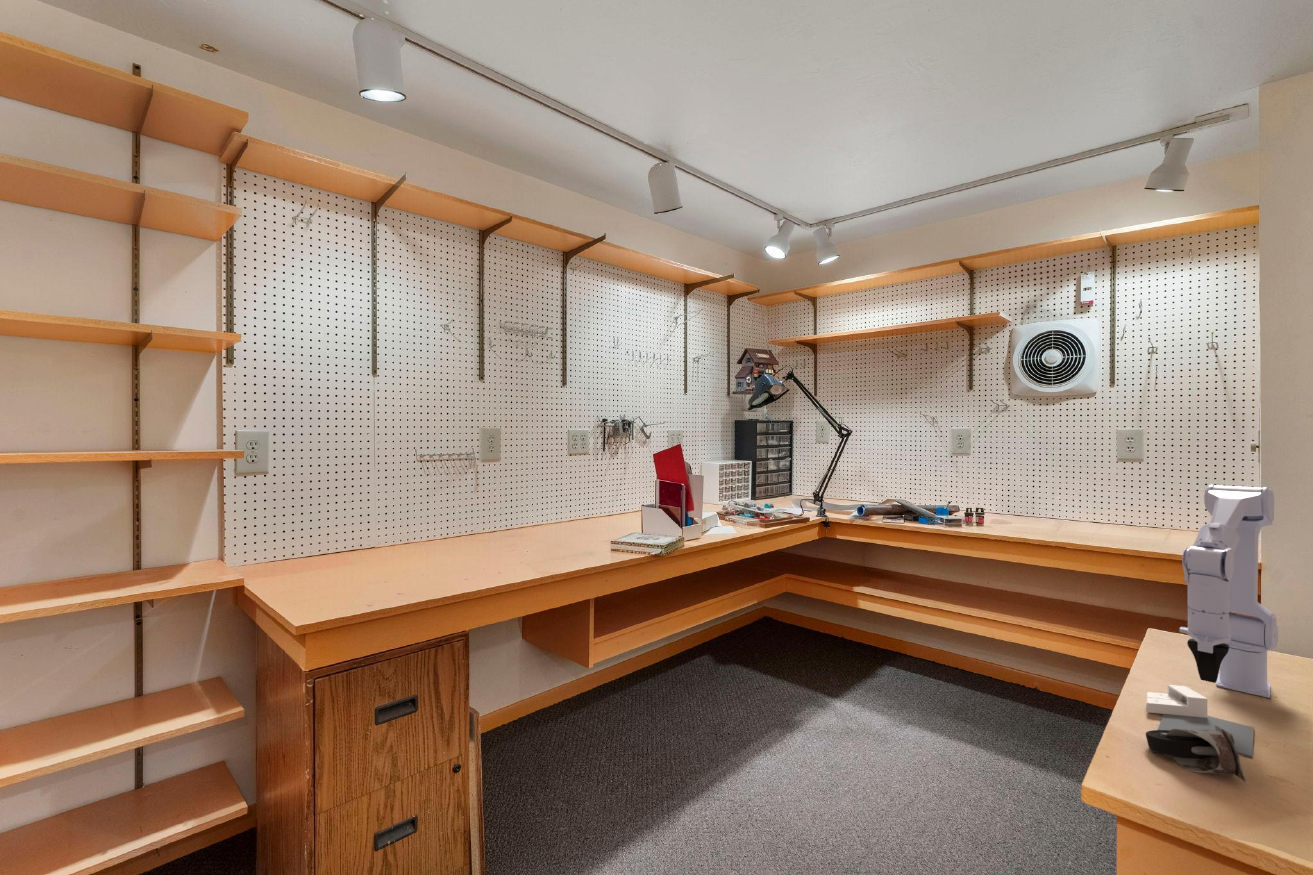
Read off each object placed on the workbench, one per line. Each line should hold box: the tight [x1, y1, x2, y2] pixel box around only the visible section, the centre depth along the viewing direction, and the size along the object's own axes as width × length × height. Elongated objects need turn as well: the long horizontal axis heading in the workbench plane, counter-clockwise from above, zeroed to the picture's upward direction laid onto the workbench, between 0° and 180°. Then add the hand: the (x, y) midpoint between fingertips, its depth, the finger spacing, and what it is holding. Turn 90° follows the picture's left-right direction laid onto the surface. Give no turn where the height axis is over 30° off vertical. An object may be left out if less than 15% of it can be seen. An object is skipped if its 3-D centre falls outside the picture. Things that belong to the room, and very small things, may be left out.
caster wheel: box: [1145, 725, 1246, 782], centre depth 94 cm, size 7×11×10 cm
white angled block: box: [1146, 684, 1208, 718], centre depth 111 cm, size 4×10×9 cm
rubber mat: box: [1157, 714, 1255, 759], centre depth 104 cm, size 14×12×1 cm
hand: (1208, 680), depth 108 cm, fingers closed
